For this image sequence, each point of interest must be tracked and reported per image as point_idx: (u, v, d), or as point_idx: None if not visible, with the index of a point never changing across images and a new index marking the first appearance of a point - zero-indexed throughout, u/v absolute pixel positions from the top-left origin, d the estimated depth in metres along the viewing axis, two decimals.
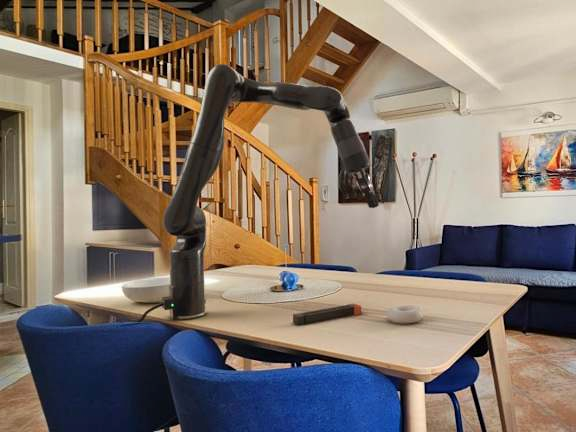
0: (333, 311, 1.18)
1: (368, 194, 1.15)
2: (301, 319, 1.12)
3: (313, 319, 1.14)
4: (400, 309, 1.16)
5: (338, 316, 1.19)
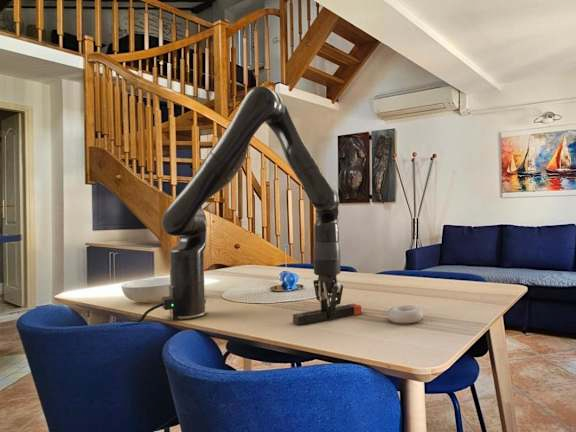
0: None
1: (334, 306, 1.16)
2: (301, 319, 1.12)
3: (313, 319, 1.14)
4: (400, 309, 1.16)
5: (338, 316, 1.19)
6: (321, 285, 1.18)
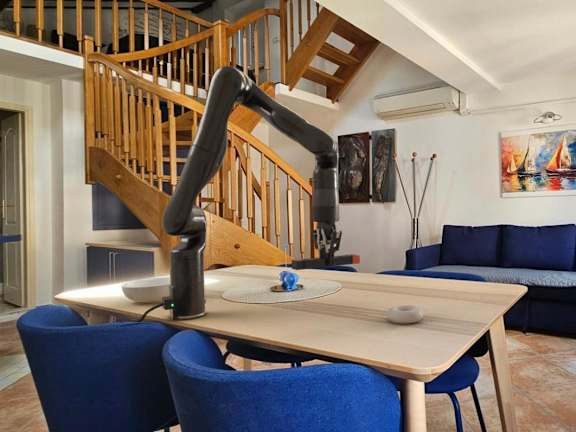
0: None
1: (332, 253, 1.16)
2: (300, 264, 1.12)
3: (312, 265, 1.14)
4: (400, 309, 1.16)
5: (337, 264, 1.19)
6: (320, 233, 1.18)
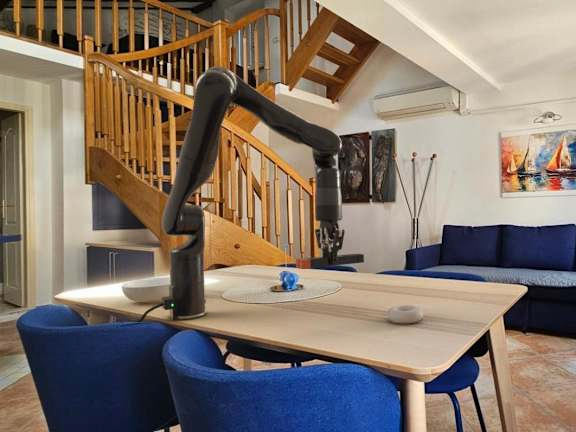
0: None
1: None
2: None
3: None
4: (400, 309, 1.16)
5: None
6: None
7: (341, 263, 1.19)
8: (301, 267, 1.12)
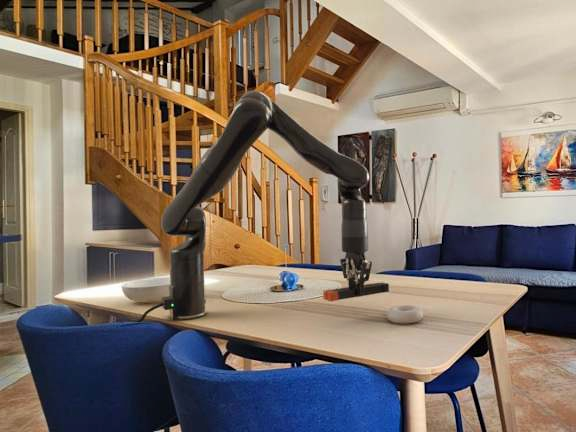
0: None
1: None
2: None
3: None
4: (400, 309, 1.16)
5: None
6: None
7: (367, 293, 1.20)
8: (329, 299, 1.13)
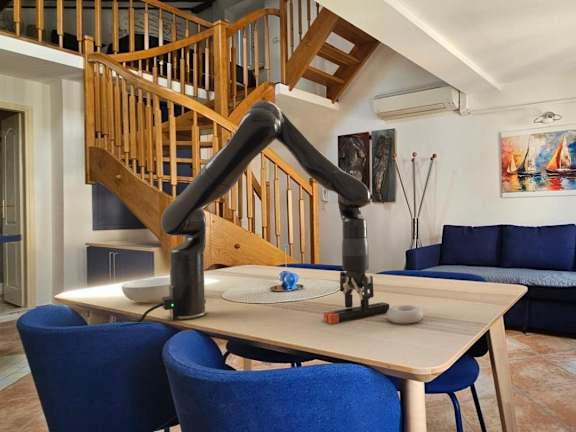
0: None
1: None
2: None
3: None
4: (400, 309, 1.16)
5: None
6: None
7: (368, 315, 1.20)
8: (330, 322, 1.13)
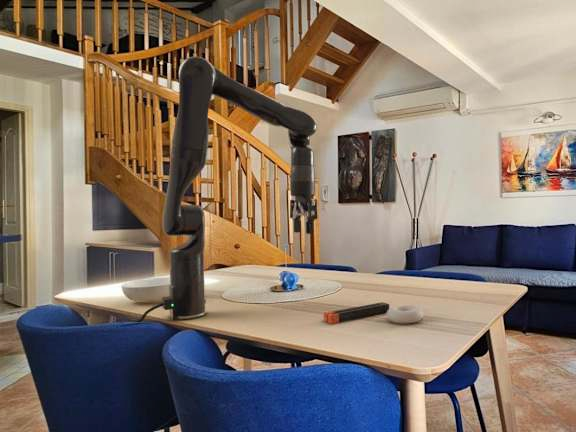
0: None
1: None
2: None
3: None
4: (400, 309, 1.16)
5: None
6: None
7: (368, 315, 1.20)
8: (330, 322, 1.13)
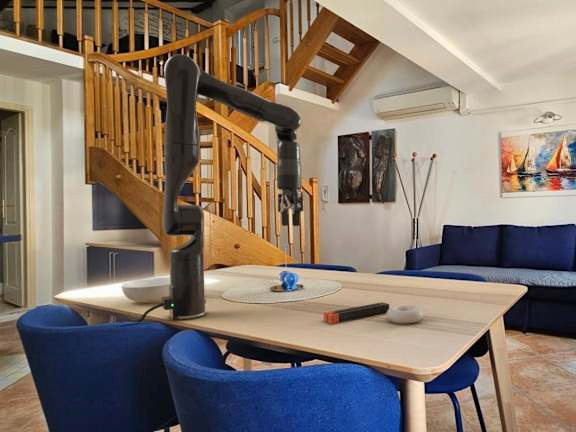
0: None
1: None
2: None
3: None
4: (400, 309, 1.16)
5: None
6: None
7: (368, 315, 1.20)
8: (330, 322, 1.13)
